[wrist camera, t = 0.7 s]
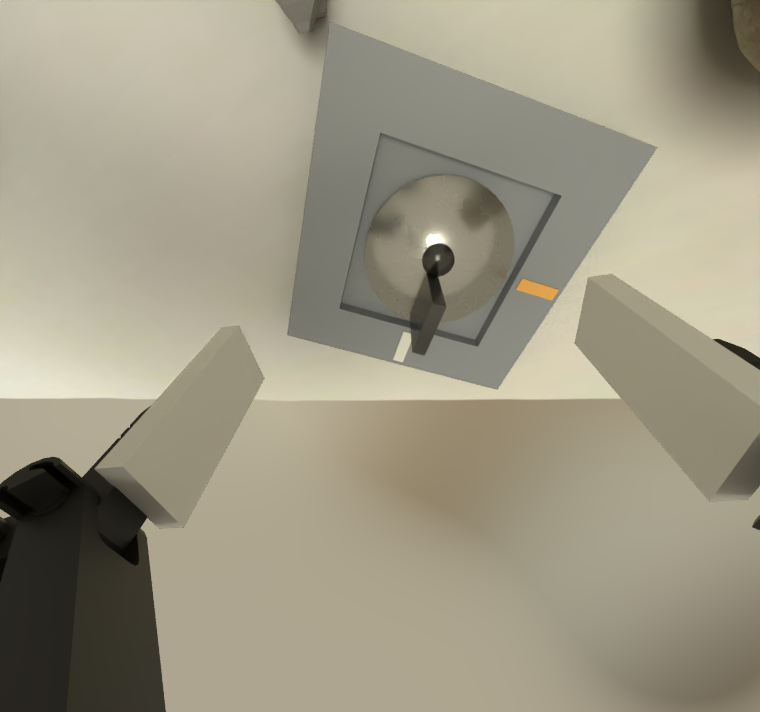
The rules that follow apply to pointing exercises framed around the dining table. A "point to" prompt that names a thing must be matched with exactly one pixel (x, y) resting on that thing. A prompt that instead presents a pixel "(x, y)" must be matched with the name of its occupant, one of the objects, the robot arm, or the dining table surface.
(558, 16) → the dining table surface
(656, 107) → the dining table surface
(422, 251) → the dial
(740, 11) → the bowl
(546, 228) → the panel
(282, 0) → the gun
